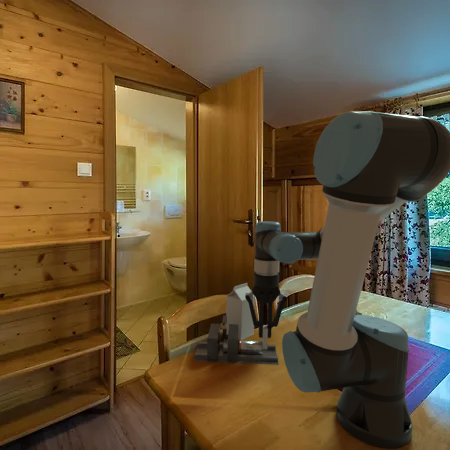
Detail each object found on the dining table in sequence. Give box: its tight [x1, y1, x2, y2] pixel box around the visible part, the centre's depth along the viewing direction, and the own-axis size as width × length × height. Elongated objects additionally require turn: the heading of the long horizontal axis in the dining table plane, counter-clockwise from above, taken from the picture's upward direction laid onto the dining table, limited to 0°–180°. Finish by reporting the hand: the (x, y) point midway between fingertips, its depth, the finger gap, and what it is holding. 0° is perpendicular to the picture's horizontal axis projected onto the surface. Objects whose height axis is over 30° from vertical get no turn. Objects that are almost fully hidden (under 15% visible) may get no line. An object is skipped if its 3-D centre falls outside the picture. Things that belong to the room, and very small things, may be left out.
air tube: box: [222, 339, 263, 354], centre depth 98 cm, size 12×4×4 cm, turn 87°
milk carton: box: [225, 282, 256, 341], centre depth 111 cm, size 7×7×19 cm
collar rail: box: [193, 314, 280, 366], centre depth 98 cm, size 12×25×11 cm, turn 87°
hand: (264, 347), depth 98 cm, fingers closed
